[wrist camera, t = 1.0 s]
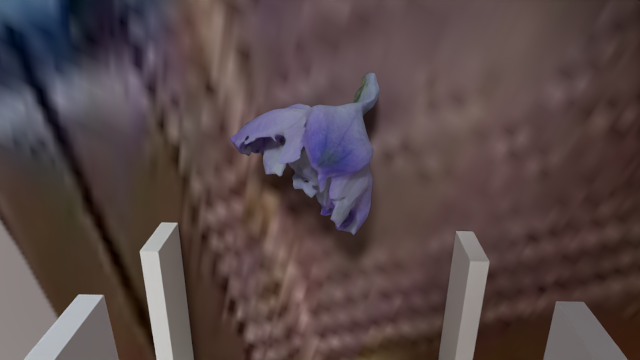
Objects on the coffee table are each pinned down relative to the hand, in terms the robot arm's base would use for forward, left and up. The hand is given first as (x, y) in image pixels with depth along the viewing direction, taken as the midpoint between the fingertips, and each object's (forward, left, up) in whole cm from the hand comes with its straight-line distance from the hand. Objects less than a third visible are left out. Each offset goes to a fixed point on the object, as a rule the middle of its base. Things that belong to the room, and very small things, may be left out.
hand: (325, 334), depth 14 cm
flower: (-1, -1, -19) cm, 19 cm away
